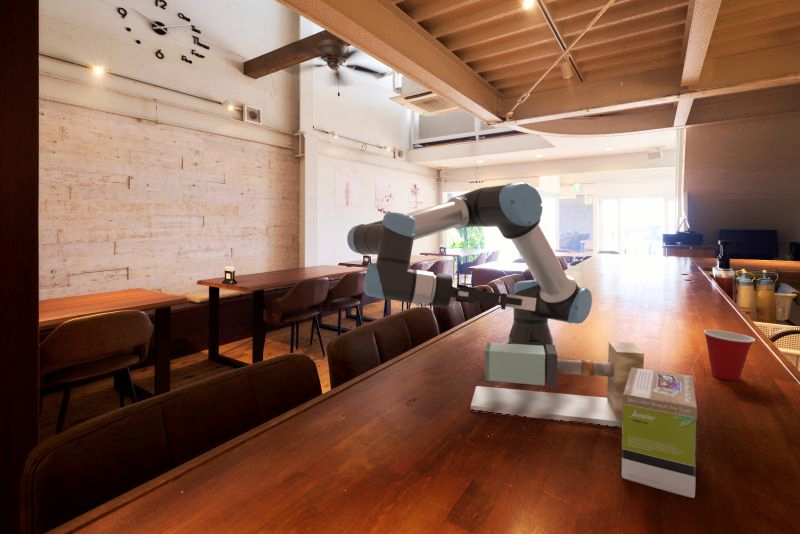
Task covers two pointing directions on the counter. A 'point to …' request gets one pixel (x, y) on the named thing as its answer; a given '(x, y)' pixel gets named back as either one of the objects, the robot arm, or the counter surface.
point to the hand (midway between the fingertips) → (523, 302)
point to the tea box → (660, 431)
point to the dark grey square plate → (551, 366)
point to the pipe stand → (566, 404)
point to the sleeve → (515, 363)
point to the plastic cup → (727, 353)
